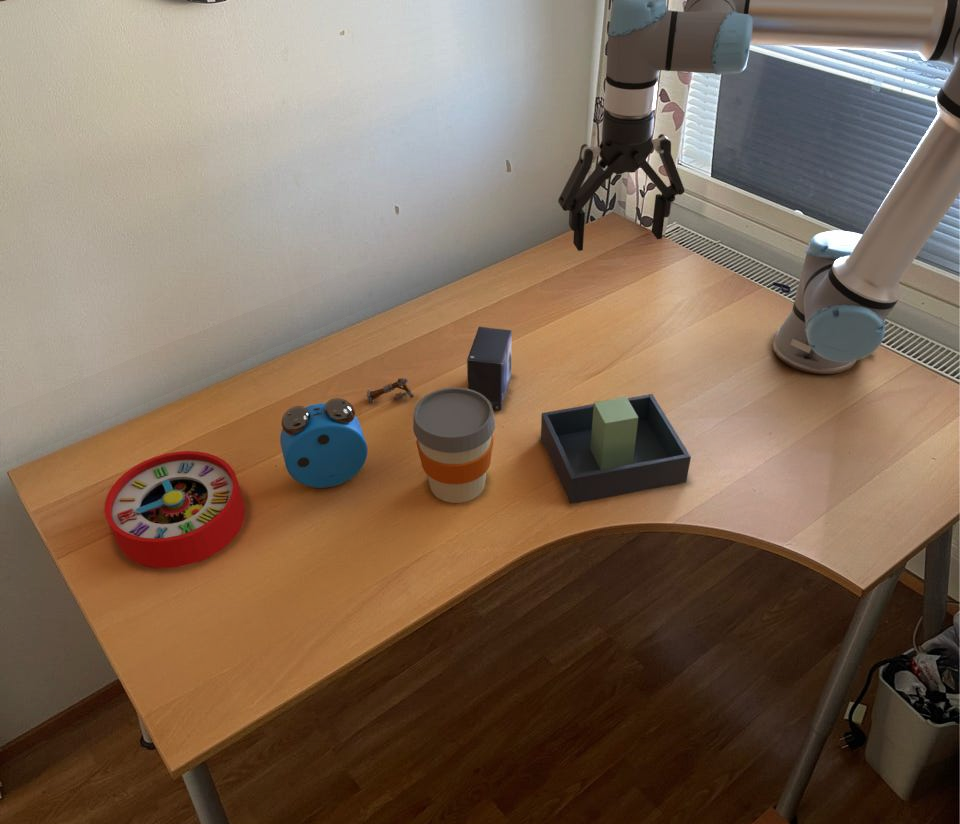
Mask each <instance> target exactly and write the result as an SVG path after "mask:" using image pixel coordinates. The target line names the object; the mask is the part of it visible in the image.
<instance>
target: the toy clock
mask: <svg viewBox="0 0 960 824" xmlns="http://www.w3.org/2000/svg"><path fill="white" fill-rule="evenodd" d="M103 512H104V515H105V516H104V517H105V519H106V522H107V524H108V526H109V528H110V531H111V533H112V534H113V537H114V539H115V542H116V544H117V546H118V548H119V549H120V551H121V553H122V554H123V555H125V557H126V558H127V559H129V560H130V561H132V562H134V563H135V564H138V565H141V566H142V567H147V568H152V569H163V570H164V569H165V570H166V569H176V568H182V567H187V566H191V565H194V564H197V563H200V562H202V561H205V560H207V559H209V558H212V557H213V556H214V555H216V554H217V553H219V552H221V551H222V550H223V549H224V548H226V547H227V546H228V545H229V544H230V543H232V542H233V540H234V539H235V538H236V537H237V535H238V534H239V532H240V531H241V529H242V527H243V525H244V522H245V519H246V504H245V501H244V497H243V493H242V491H241V487H240V483H239V481H238V478H237V474H236V473H235V470H234V469H233V468H232V466H231V465H230V464H229V463H228V462H227V461H225V460H224V459H222V458H221V457H219V456H218V455H214V454H211V453H208V452H203V451H198V450H197V451H196V450H195V451H194V450H181V451H173V452H168V453H167V452H166V453H164V454H160V455H156V456H154V457H151V458H148V459H146V460H143V461H142V462H140V463H138V464H136V465H135V466H133V467H131V468H130V469H129V470H127V471H125V472H124V473H123V474H122V475H121V476H120V477H119V478H118V479H117V480H116V481H115V482H114V483H113V484H112V486H111V487H110V489H109V491H108V493H107V494H106V498H105V501H104V511H103Z"/></svg>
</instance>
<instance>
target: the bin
mask: <svg viewBox="0 0 960 824" xmlns="http://www.w3.org/2000/svg"><path fill="white" fill-rule="evenodd" d="M627 399H628V400H629V402H630V404H631V406H632V407H633V409H634V411H635V413H636V414H637V416H638V425H637V433H636V441H635V449H634V457H633V464H630V465H624V466H619V467H614V468H608V469H603V470H600V468H599V466H598V464H597V462H596V460H595V458H594V456H593V454H592V452H591V450H590V446H591V434H592V421H593V408H594V403H591V404H587V405H581V406H574V407H568V408H563V409H557V410H551V411H547V412H541V419H540V421H541V423H540V440H541V442H542V444H543V446H544V448H545V451H546V453H547V456H548V458H549V460H550V462H551V465H552V467H553V469H554V472H555V474H556V476H557V478H558V479H559V483H560V485H561V487H562V490H563V492H564V494H565V497H566V498H567V501H568V503H569V505H574V504H579V503H585V502H589V501H590V502H591V501H596V500H601V499H605V498H611V497H612V498H613V497H616V496H621V495H622V496H623V495H627V494H633V493H637V492H642V491H648V490H653V489H659V488H665V487H669V486H675V485H679V484H680V485H681V484H684V483H685V484H686V483H687V481H688V475H689V470H690V464H691V458H692V456H691V455H690V453H689V451H688V449H687V447H685V444H684V443H683V441H682V440H681V438H680V437H679V435H678V433H677V432H676V430H675V428H674V427H673V425H672V423H671V422H670V420H669V418H668V417H667V415H666V413H665V412H664V410H663V409H662V407H661V405H660V404H659V402H658V400H657V399H656V397H655V395H654V394H653V393H649V394H644V395H638V396H632V397H627Z"/></svg>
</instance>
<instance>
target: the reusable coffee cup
mask: <svg viewBox="0 0 960 824" xmlns="http://www.w3.org/2000/svg"><path fill="white" fill-rule="evenodd" d="M412 421H413V422H412V423H413V424H412V426H413V427H412V430H413V435H414V437H415V438H416V443H415V444H416V450H417V453H418V456H419V457H418V458H419V460H420V464H421V467H422V469H423V471H424V473H425V474H426V476H427V477H426V478H427V480H428V483H429V488H430V490H431V492H432V494H433V495H434V496H435V497H436V498H438V499H439V500H441V501H444V502H446V503H452V504H460V503H466V502H469V501H472V500H474V499H475V498H477V497H479V496H480V495H481V494H482V493H483V491H484V489H485V487H486V486H485V485H486V479H487V472H488V470H489V469H490V466H491V462H492V454H493V449H494V440H495V439H494V431H495V429H496V421H495V415H494V410H493V409H492V405H491V403H490V401H489V400H488V399H487V398H486V397H485V396H484V395H482V394H481V393H479V392H476V391H474V390H470V389H468V388H466V387H445V388H439V389H436V390H434V391H431V392H429V393H428V394H426V395H424V396H423V397H422V398H421V399H419V401H418V402H417V403H416V405H415V407H414V409H413V420H412Z"/></svg>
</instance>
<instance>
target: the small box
mask: <svg viewBox="0 0 960 824" xmlns="http://www.w3.org/2000/svg"><path fill="white" fill-rule="evenodd" d="M512 333H513V330H512V329H503V328H496V327H495V328H494V327H487V326H478V328H477V330H476V333H475V336H474V339H473V342H472V345H471V348H470V350H469V352H468V355H467V359H466V373H467V374H466V375H467V376H466V378H467V389H470V390H474V391H476V392H479V393H481V394H482V395H484V396H485V397H486V398H487V399H488V400H489V401H490V403H491V405H492V409H493V411H498V412H499V411H502V409H503V405H504V402H505V399H506V395H507V392H508V388H509V385H510V382H511V379H512V354H513V353H512V348H513V347H512V344H513V343H512V337H513V334H512Z"/></svg>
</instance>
